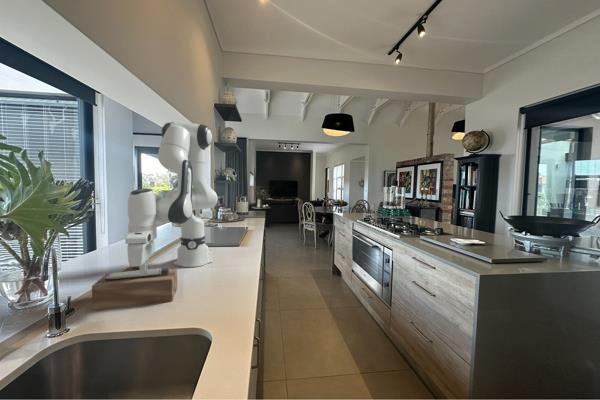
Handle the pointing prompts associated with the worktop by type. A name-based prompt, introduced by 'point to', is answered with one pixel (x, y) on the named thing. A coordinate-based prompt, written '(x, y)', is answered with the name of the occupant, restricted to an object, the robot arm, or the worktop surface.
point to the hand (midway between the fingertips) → (143, 271)
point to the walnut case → (135, 290)
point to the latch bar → (132, 274)
